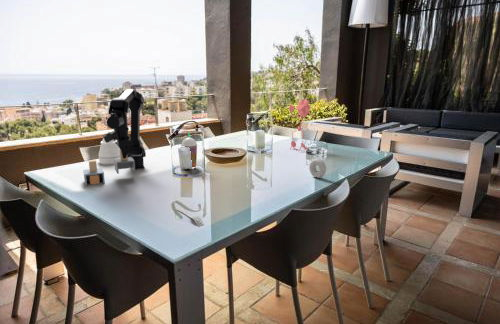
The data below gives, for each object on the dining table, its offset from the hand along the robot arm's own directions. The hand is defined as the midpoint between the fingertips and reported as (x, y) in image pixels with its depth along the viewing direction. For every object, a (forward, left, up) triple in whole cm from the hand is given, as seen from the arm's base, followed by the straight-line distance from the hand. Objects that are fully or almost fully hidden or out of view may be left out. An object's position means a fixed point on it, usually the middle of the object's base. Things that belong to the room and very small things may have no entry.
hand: (124, 157), depth 165 cm
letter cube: (+14, 0, -11) cm, 18 cm away
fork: (-13, +58, -11) cm, 61 cm away
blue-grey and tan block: (+14, 0, -11) cm, 18 cm away
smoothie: (-34, -3, -11) cm, 36 cm away
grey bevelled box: (0, 0, -7) cm, 6 cm away
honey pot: (+2, -39, -11) cm, 40 cm away
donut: (-86, +41, -11) cm, 96 cm away
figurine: (-119, -16, -11) cm, 120 cm away
